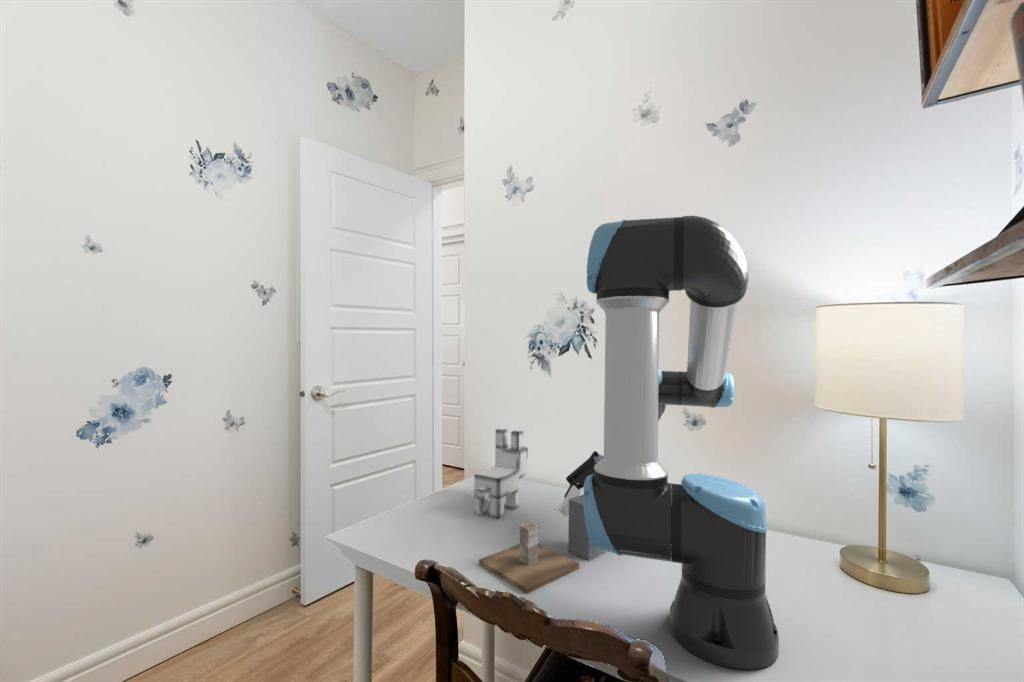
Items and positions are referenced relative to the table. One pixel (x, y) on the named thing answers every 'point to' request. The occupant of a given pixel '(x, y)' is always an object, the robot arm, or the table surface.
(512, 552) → the post
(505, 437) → the toy llama
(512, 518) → the table surface
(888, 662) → the table surface
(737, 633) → the robot arm
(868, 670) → the table surface
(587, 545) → the gray upright pillar
